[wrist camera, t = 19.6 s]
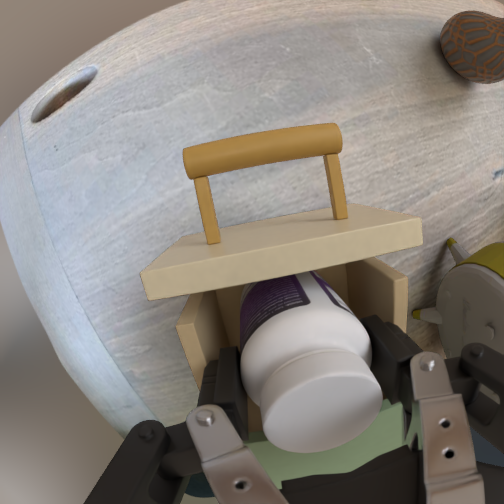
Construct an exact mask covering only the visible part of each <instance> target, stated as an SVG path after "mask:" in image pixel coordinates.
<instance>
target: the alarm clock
mask: <svg viewBox="0 0 504 504" xmlns="http://www.w3.org/2000/svg"><path fill="white" fill-rule="evenodd" d="M447 245H448V247H449V249H450V251H451V253H452V256H453V258H454V260H455V262H456V266H455V267H453V268H452V269H451V270H450V271H449V272H448V273H447V274H446V275H445V277H444V278H443V280H442V282H441V284H440V287H439V290H438V293H437V301H436V307H431V308H425V309H419V310H414V311H413V318H415V319H419V320H423V321H427V322H432V323H436V324H437V325H438V331H439V336H440V339H441V343H442V346H443V349H444V352H445V355H446V357H447V359H449V358H455V357H459V356H460V355H461V351H462V349H463V347H464V346H466V345H467V344H470V343H482V344H485V345H486V346H488V347H490V348H492V349H494V350H495V351H497V352H499V353H501V354H503V355H504V242H496V243H493V244H490V245H488V246H486V247H484V248H482V249H481V250H479V251H478V252H476V253H474V254H473V255H470V254H469V253H468V252H467V251H466V250H464V249H463V248H462V247H461V246H460V245H459V244H458V243H457V242H456V241H455V240H454V239H453V238H449V239H448V240H447ZM480 391H481V392H482V393H484V394H485V395H486V396H488V397H489V398H491V399H492V400H494V401H495V402H496V403H498V404H500V398H499V396H498V395H497V394H496V393H494V392H493V391H492V390H490V389H489V388H487V387H486V386H484V385H483V384H482V386H481V388H480Z"/></svg>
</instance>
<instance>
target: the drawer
mask: <svg viewBox="0 0 504 504" xmlns="http://www.w3.org/2000/svg"><path fill="white" fill-rule="evenodd" d="M341 150H342V135H341V132H340V129H339V127H338V125H337V124H335V123H325V124H315V125H306V126H298V127H290V128H283V129H276V130H270V131H263V132H257V133H252V134H246V135H241V136H236V137H231V138H226V139H221V140H217V141H212V142H208V143H203V144H199V145H195V146H191V147H187V148H184V149H183V162H184V167H185V170H186V173H187V176H188V177H189V179H191V180H192V179H194V185H195V189H196V194H197V199H198V204H199V208H200V213H201V218H202V222H203V227H204V231H205V232H200V233H196V234H191V235H186V236H182V237H181V238H180V239H179V240H177V241H176V242H175V243H174V244H173V245H171V246H170V247H169V248H168V249H167V250H166V251H164V252H163V253H162V254H161V255H160V256H159V257H157V258H156V259H155V260H154V261H153V262H152V263H150V264H149V265H148V266H147V267H146V268H145V269H144V270H142V271H141V272H140V276H141V280H142V283H143V286H144V289H145V292H146V295H147V299H148V301H152V300H158V299H164V298H170V297H176V296H182V295H188V294H190V296H189V298H188V300H187V302H186V305H185V307H184V309H183V311H182V313H181V315H180V317H179V320H178V322H177V324H176V330H177V333H178V336H179V338H180V341H181V344H182V347H183V349H184V352H185V355H186V358H187V360H188V363H189V365H190V368H191V371H192V373H193V376H194V378H195V381H196V383H197V386H198V388H199V390H200V388H201V384H202V378H203V372H204V368H205V367H206V366H207V364H208V363H209V362H210V361H212V360H219V352H220V348H225V347H231V346H237V347H238V350H239V353H240V300H241V295H242V292H243V289H244V287H245V285H246V284H248V283H253V282H258V281H263V280H268V279H273V278H278V277H283V276H288V275H293V274H298V273H303V272H307V271H312V270H315V271H317V272H318V273H319V274H320V275H321V276H322V277H323V279H324V280H325V281H326V282H327V283H328V284H329V285H330V287H331V288H332V289H333V290H334V291H335V292H336V294H337V295H338V296H339V297H340V298H341V299H342V300H343V302H344V303H345V304H346V305H347V306H348V308H349V309H350V310H351V311H352V312H353V314H354V315H355V316H356V317H357V319H358V320H359V321H360V319H361V318H364V317H368V316H371V315H375V314H376V315H377V316H378V317H379V318H380V319H381V320H382V321H383V322H384V323H385V322H391V323H393V324H395V325H398V326H399V327H400V328H401V329H402V330H403V332H405V333H406V324H407V305H408V277H407V276H405V275H404V274H402V273H400V272H399V271H397V270H395V269H394V268H392V267H390V266H389V265H387V264H385V263H384V262H382V261H380V260H379V259H377V258H375V256H379V255H384V254H388V253H392V252H396V251H400V250H405V249H409V248H413V247H417V246H421V245H423V239H422V221H421V217H417V216H413V215H408V214H404V213H399V212H394V211H389V210H385V209H380V208H374V207H369V206H364V205H359V204H347V205H346V198H345V192H344V185H343V179H342V174H341V168H340V163H339V157H338V154H339V153H340V152H341ZM323 155H325V156H323ZM315 156H323V159H324V164H325V170H326V175H327V181H328V187H329V193H330V199H331V205H332V207H329V208H324V209H318V210H312V211H307V212H301V213H296V214H291V215H285V216H280V217H275V218H269V219H264V220H259V221H254V222H249V223H244V224H239V225H234V226H229V227H224V228H219V227H218V223H217V218H216V213H215V209H214V204H213V199H212V194H211V189H210V185H209V180H208V177H206V176H210V175H214V174H219V173H223V172H228V171H233V170H238V169H243V168H248V167H253V166H259V165H264V164H270V163H276V162H282V161H288V160H294V159H301V158H308V157H315ZM381 390H382V389H381ZM382 395H383V400H385V399H387V397H386V396H385V394H384V392H383V391H382ZM247 401H248V432H256V431H263V426H262V418H261V412H260V407H259V406H258V405H257V404H256V403H254V402H253V401H252V399H251V398H250V397H249V395H248V394H247Z"/></svg>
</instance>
